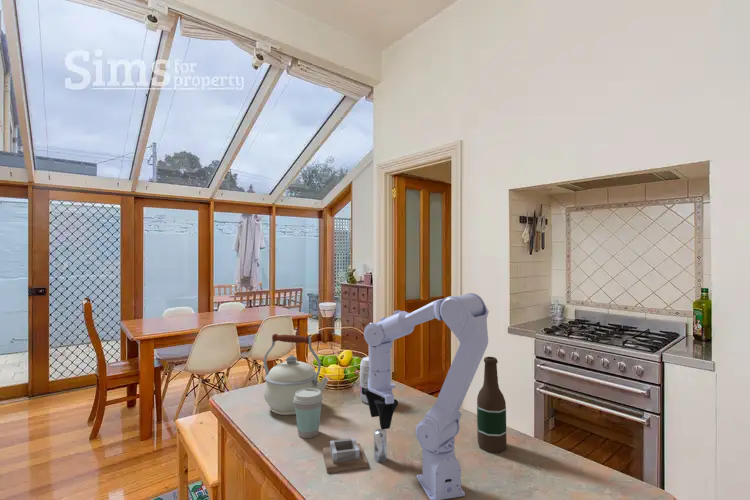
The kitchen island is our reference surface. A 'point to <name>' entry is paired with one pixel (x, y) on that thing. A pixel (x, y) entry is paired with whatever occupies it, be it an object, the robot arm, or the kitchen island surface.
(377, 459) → the shaft
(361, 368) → the supplement can
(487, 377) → the beer bottle
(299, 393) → the coffee cup
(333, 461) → the block
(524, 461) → the kitchen island surface
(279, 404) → the kettle
